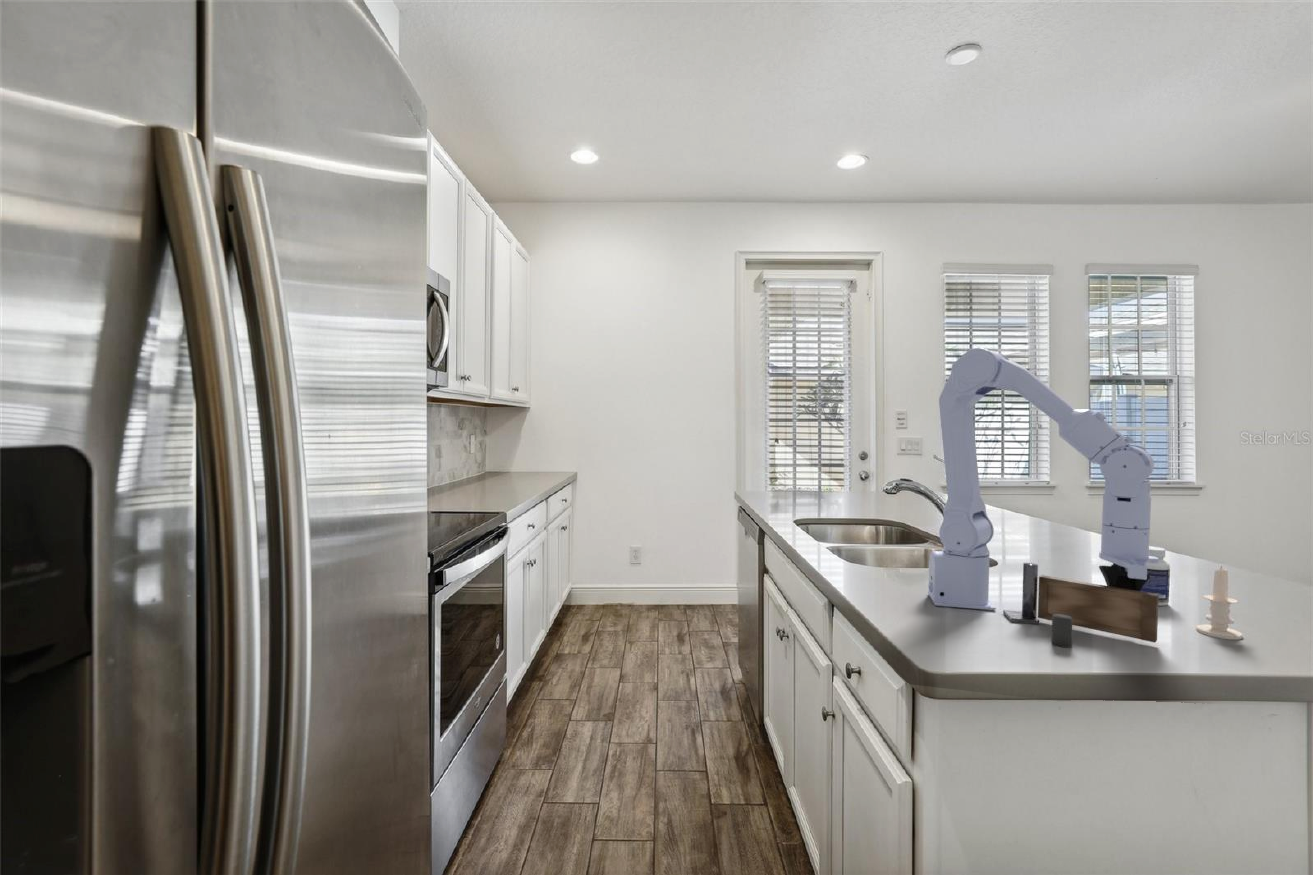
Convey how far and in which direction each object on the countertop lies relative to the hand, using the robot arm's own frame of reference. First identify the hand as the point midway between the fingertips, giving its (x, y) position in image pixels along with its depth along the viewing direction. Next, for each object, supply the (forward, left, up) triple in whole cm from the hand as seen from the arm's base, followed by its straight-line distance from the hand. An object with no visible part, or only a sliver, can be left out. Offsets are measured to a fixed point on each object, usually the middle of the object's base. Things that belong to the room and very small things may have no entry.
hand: (1121, 615), depth 92 cm
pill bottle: (+13, +21, -3) cm, 24 cm away
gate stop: (-10, -7, -3) cm, 13 cm away
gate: (-4, -1, -2) cm, 5 cm away
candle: (+15, +5, -3) cm, 16 cm away
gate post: (-12, +4, -3) cm, 13 cm away
